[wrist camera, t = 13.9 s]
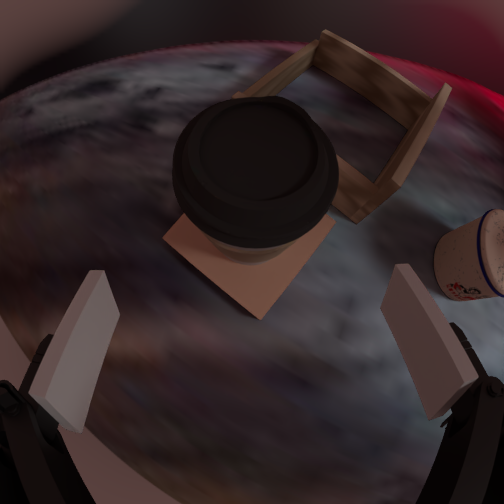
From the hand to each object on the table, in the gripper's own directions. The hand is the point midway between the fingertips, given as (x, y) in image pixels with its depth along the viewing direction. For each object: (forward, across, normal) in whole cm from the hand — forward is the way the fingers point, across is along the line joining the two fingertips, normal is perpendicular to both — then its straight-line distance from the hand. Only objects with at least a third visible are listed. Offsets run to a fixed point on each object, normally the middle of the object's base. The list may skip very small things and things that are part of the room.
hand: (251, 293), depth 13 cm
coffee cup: (+15, 0, -5) cm, 16 cm away
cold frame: (+25, +11, +4) cm, 28 cm away
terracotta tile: (+16, 0, -6) cm, 17 cm away
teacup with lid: (+13, +27, -9) cm, 31 cm away
